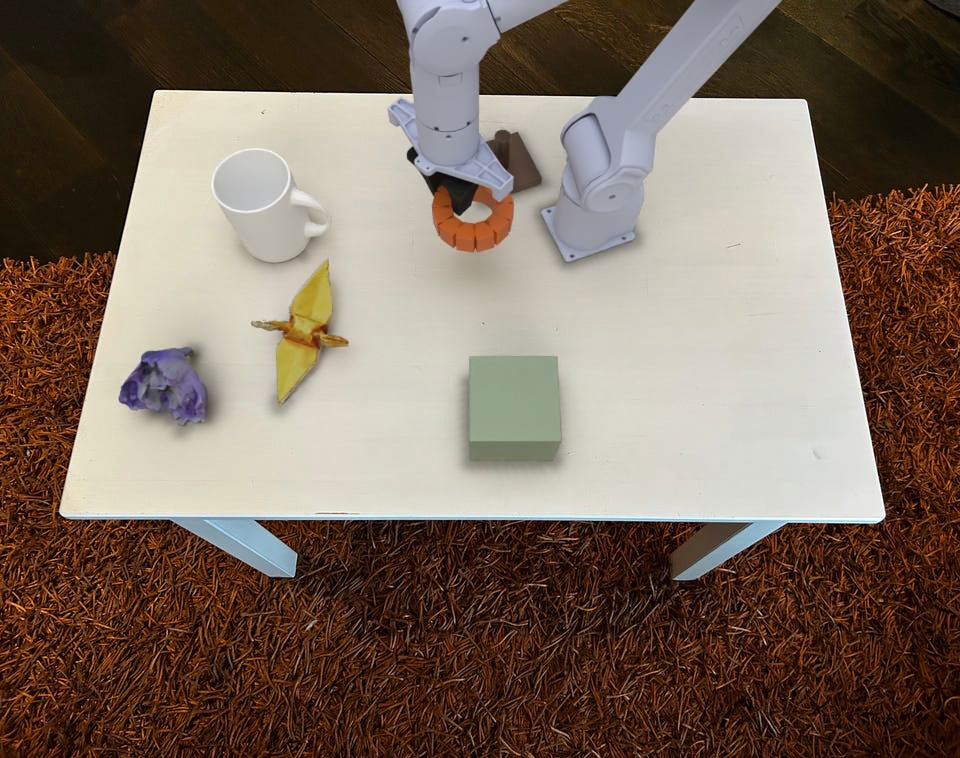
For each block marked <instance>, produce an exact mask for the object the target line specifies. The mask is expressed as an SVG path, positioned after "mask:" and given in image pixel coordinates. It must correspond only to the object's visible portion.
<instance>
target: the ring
mask: <svg viewBox="0 0 960 758" xmlns="http://www.w3.org/2000/svg"><path fill="white" fill-rule="evenodd" d="M472 202H476V203H480V204H481V203H482V204H484V205H485V206H486V207H487V208H489V209H490V210H491V212H492V213H491V214H490V215H489V216H488V217H486V218H485V220H480V221H478V222H474V223H473V222H467V221H462V220H461V219H460V218H459V217H457V215H455V213H454V211H453V209H452V203H451V198H450V195H449V193H448V191H447V190H446V188H445V187H444V186H442V185H441V186H440V187H439V188H438V189H437V192H435V195H434V197H433V199H432V203H431V214H432V215H431V216H432V222H433V223H432V224H433V226H434V228H435V231H436V233H437V234H436V235H437V237H440V240H442V241H443V242H444V243H445V244H447V245H448V246H450V247H451V248H452V249H456V251H461V252H466V253H472V254H474V253H475V251H476V253H481V252H484V251H488V250H491V249H494V248H495V246H498V245H500V244H501V243H502V242H503V241H504V240H505V239H506V238H507V237H508V236H509V235H510V234H509V233H510V232H511V229H512V225H513V220H514V213H515V211H514V210H515V203H514V198H513V196H512V194H510V193H509V194H508V195H507V196H506V197H505V198H504V199H503V200H502V201H501V202H498V201H497V200H495V199H494V198H493V197H492V190H491V189H490V188H487V187H485V186H482V185H479V187H478V189H477V191H476V193H475V195H474V198H473V201H472Z"/></svg>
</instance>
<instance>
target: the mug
mask: <svg viewBox="0 0 960 758" xmlns="http://www.w3.org/2000/svg"><path fill="white" fill-rule="evenodd" d="M210 188H211V192H212V196H213V197H214V199H215V201H216V202H217V204H218V206H219V208H220V209H221V211H222V212H223V214H224V215H225V217H226V219H227V220H228V222H229V224H230V225H231V228H232V229H233V230H234V232H235V234H236V236H237V237H238V239H239V241H240V242H241V243H242V246H243V247H244V248H245V249H246V251H247V252H248V253H249V254H250V255H251V256H253V257H254V258H256V259H257V260H260V261H262V262H267V263H283V262H287V261H290V260H291V259H294V258H296V257H297V256H299V255H300V254H301V253H302V252H303V251H305V249H306V247H307V246H308V244H309V243H310V240H311V238H314V237H320V236H323V235H324V234H326V233H327V232H328V231H330V229H331V227H332V217H331V214H330V212H329V210H328V209H327V207H326V206H325V205H324V204H323V203H322V202H321V201H320V200H319V199H317V198H315V197H314V196H312V195H310V194H309V193H306V192H305V191H302V190H301V189H299V188H298V186H297V183H296V181H295V179H294V177H293V174H292V171H291V169H290V166H289V164H288V163H287V161H286V159H284V158H283V156H281V155H280V154H278V153H276V152H275V151H272V150H270V149H266V148H262V147H250V148H244V149H241V150H237V151H235V152H233V153H231V154H229V155H228V156H227V157H224V158H223V159H222V160H221V161H220V162H219V163H218V164H217V166H216V167H215V169H214V171H213V174H212V176H211V182H210ZM307 208H310V209H313V210H316V211H318V212H320V213H321V214H323V215H324V216H325V218H327V222H326V223H324V224H319V223H315V222H313V221H311V218H310V216H309V213H308V210H307Z"/></svg>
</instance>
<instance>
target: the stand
mask: <svg viewBox="0 0 960 758" xmlns="http://www.w3.org/2000/svg"><path fill="white" fill-rule="evenodd" d="M485 142H486V143H487V145H488V146H489V148H490V149H491V151H492V152H493V154H494V155H495V156H496V158H497V159H498V161H499V162H500V164H501V165H502V166H503V168H504V169H505V170H506V171H507V172H508V173H510V174H511V175H512V176H513V177H514V180H513V190H512V191H511V192H510V194H511V195H512V194H515V193H517V192H520V191H523V190H527V189H530V188H532V187H536V186H539V185H541V184H542V181H543V176H542V175H541V173H540V171H539V169H538V167H537V166H536V164H535V162H534V160H533V157H532V156H531V153H530V152H529V151H528V148H527V147H526V144H525V143H524V141H523V138H522V136H521V135H520V133H519V131H515V132H512V133H511V132H510V131H508V130H506V129H499V130H497V131H495V134H494V137H493V139H490V140H487V141H486V140H485Z"/></svg>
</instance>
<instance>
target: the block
mask: <svg viewBox="0 0 960 758" xmlns="http://www.w3.org/2000/svg"><path fill="white" fill-rule="evenodd" d="M468 357H469V358H468V360H469V362H468V363H469V365H468V369H469V370H468V372H469V375H468V378H469V380H468V393H469V394H468V401H469V402H468V419H469V420H468V447H469V462H553V461H554V459H555V457H556V454H557V451H558V450H559V447H560V445H561V443H562V441H563V439H562V438H563V437H562V421H561V419H562V417H561V401H560V400H561V399H560V397H561V396H560V381H559V379H560V378H559V361H558V357H559V356H557V355H526V356H525V355H523V356H522V355H497V356H496V355H495V356H494V355H470V356H468Z"/></svg>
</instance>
